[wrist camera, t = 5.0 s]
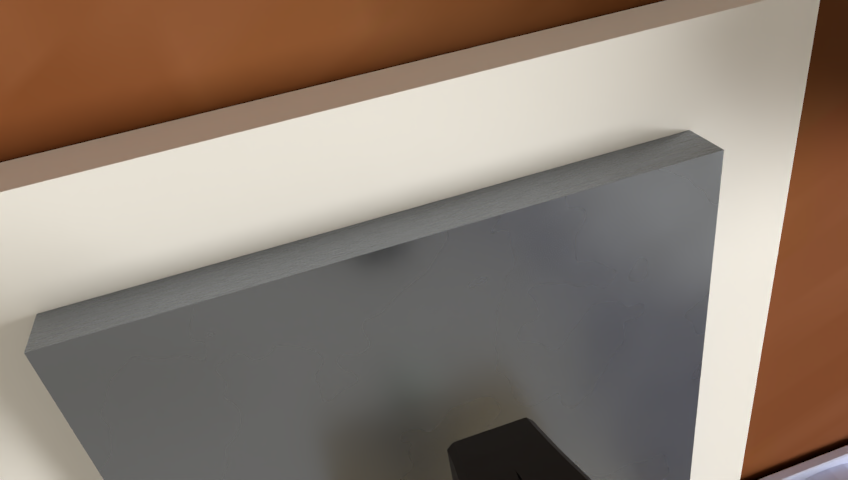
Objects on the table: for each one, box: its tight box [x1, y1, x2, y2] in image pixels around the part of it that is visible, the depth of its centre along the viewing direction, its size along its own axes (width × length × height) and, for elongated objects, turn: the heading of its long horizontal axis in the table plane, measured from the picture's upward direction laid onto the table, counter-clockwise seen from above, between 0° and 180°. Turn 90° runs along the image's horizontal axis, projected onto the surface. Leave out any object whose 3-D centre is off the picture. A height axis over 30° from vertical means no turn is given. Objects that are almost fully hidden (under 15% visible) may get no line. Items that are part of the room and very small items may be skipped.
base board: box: [0, 0, 820, 480], centre depth 18 cm, size 20×20×3 cm
